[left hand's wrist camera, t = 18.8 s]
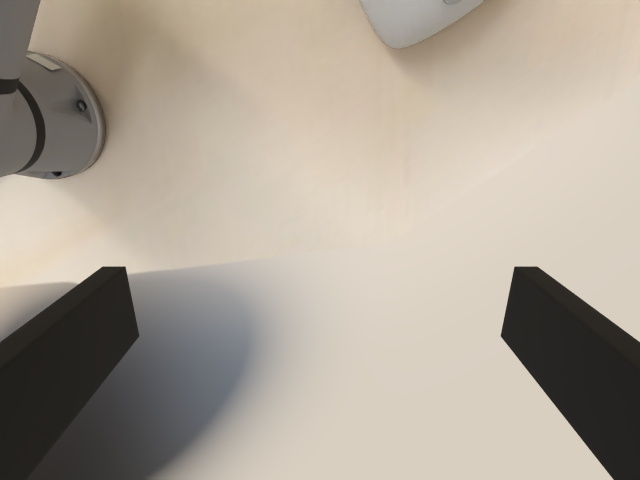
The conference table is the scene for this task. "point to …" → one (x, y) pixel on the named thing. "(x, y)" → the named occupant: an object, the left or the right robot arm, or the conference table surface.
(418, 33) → the projector
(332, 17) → the conference table surface
